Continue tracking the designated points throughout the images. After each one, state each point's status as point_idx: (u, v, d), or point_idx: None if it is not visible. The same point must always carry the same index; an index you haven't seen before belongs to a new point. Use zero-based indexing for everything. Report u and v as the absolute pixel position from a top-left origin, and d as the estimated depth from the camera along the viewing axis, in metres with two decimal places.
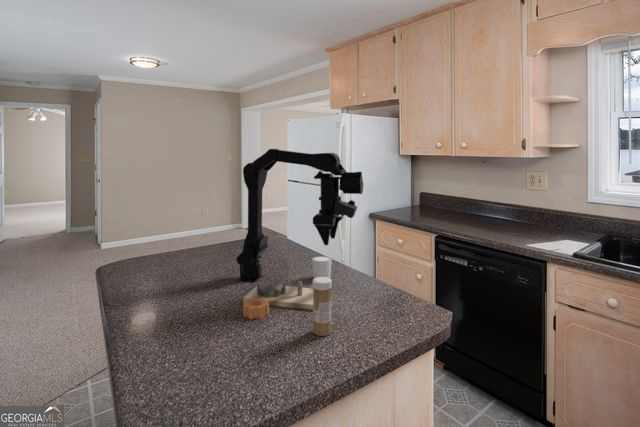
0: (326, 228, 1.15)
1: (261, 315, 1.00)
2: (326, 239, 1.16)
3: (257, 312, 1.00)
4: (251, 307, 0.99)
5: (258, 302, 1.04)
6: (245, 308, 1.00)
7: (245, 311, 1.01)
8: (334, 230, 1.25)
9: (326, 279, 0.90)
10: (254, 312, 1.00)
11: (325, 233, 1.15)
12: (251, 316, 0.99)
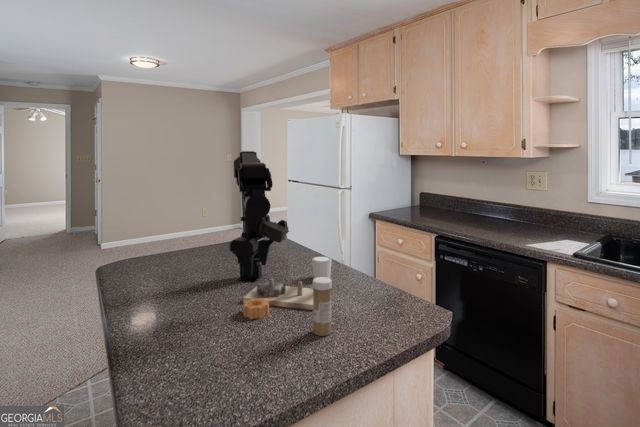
0: (248, 255, 0.94)
1: (261, 315, 1.00)
2: (249, 268, 0.96)
3: (257, 312, 1.00)
4: (251, 307, 0.99)
5: (258, 302, 1.04)
6: (245, 308, 1.00)
7: (245, 311, 1.01)
8: (265, 255, 1.05)
9: (326, 279, 0.90)
10: (254, 312, 1.00)
11: (247, 261, 0.95)
12: (251, 316, 0.99)
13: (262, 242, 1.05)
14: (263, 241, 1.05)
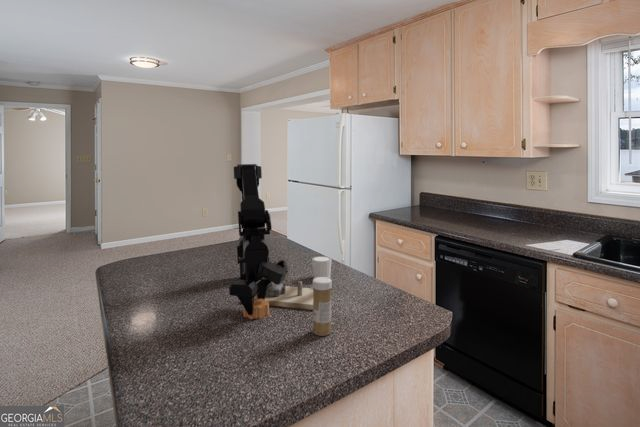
0: (249, 296, 0.97)
1: (261, 315, 1.00)
2: (249, 308, 0.98)
3: (257, 312, 1.00)
4: None
5: (258, 302, 1.04)
6: None
7: (245, 311, 1.01)
8: (263, 294, 1.05)
9: (326, 279, 0.90)
10: (254, 312, 1.00)
11: (248, 302, 0.97)
12: (251, 316, 0.99)
13: (261, 281, 1.06)
14: (261, 281, 1.05)
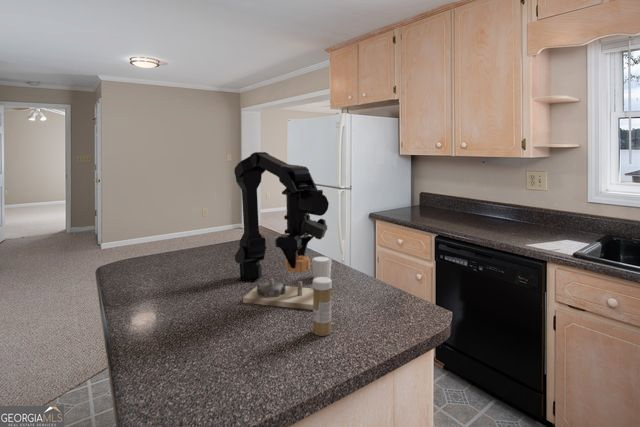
0: (292, 250, 1.04)
1: (303, 269, 1.07)
2: (293, 262, 1.05)
3: (299, 266, 1.07)
4: None
5: (299, 258, 1.11)
6: (288, 262, 1.08)
7: (288, 265, 1.08)
8: (303, 252, 1.13)
9: (326, 279, 0.90)
10: (296, 266, 1.07)
11: (291, 255, 1.05)
12: (294, 269, 1.07)
13: (301, 239, 1.13)
14: (301, 239, 1.13)
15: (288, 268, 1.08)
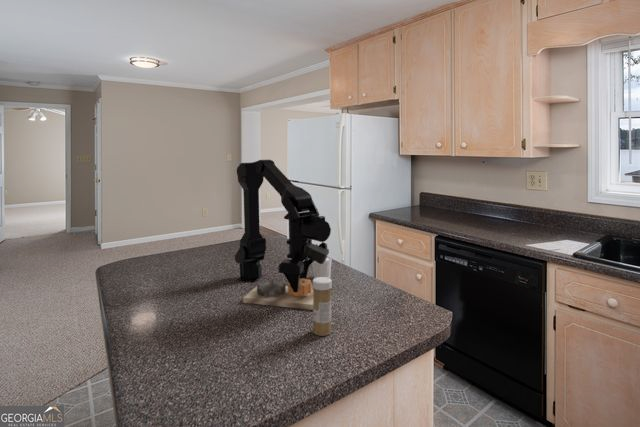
0: (295, 274, 1.06)
1: (305, 292, 1.09)
2: (295, 286, 1.07)
3: (302, 290, 1.09)
4: None
5: None
6: (290, 286, 1.09)
7: (290, 289, 1.09)
8: (304, 274, 1.14)
9: (326, 279, 0.90)
10: (299, 290, 1.08)
11: (294, 280, 1.06)
12: (296, 293, 1.08)
13: (302, 262, 1.14)
14: (303, 262, 1.14)
15: (290, 292, 1.10)
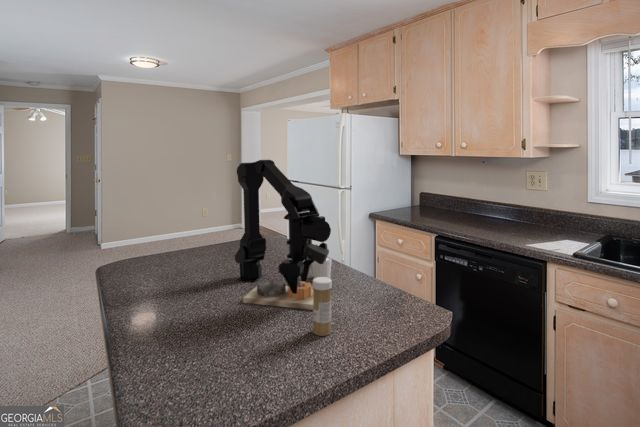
0: (294, 276, 1.05)
1: (305, 296, 1.09)
2: (294, 287, 1.06)
3: (302, 293, 1.09)
4: None
5: None
6: (290, 289, 1.09)
7: (290, 292, 1.10)
8: (305, 274, 1.15)
9: (326, 279, 0.90)
10: (299, 293, 1.09)
11: (293, 281, 1.05)
12: (296, 297, 1.08)
13: (303, 261, 1.15)
14: (304, 261, 1.15)
15: (290, 295, 1.10)
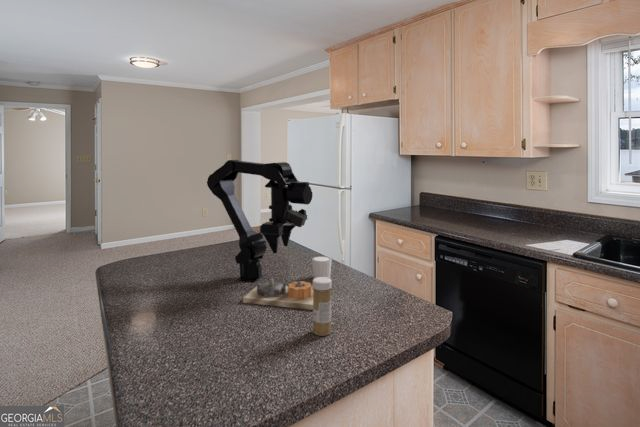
0: (274, 237, 1.17)
1: (305, 296, 1.09)
2: (274, 247, 1.18)
3: (302, 293, 1.09)
4: (296, 288, 1.08)
5: None
6: (290, 289, 1.09)
7: (290, 292, 1.10)
8: (287, 238, 1.27)
9: (326, 279, 0.90)
10: (299, 293, 1.09)
11: (273, 241, 1.17)
12: (296, 297, 1.08)
13: (285, 226, 1.27)
14: (286, 226, 1.27)
15: (290, 295, 1.10)
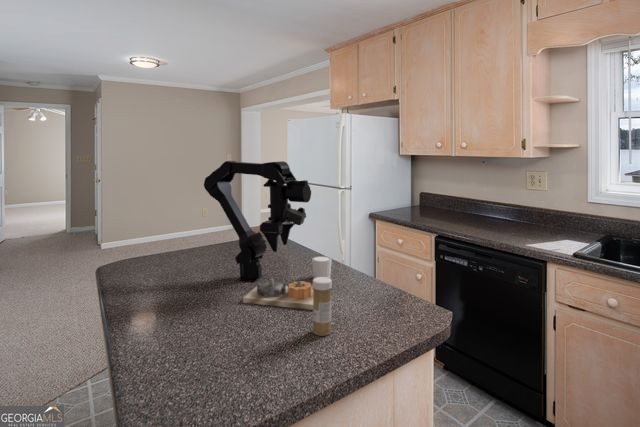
0: (274, 235, 1.18)
1: (305, 296, 1.09)
2: (274, 246, 1.19)
3: (302, 293, 1.09)
4: (296, 288, 1.08)
5: None
6: (290, 289, 1.09)
7: (290, 292, 1.10)
8: (286, 237, 1.28)
9: (326, 279, 0.90)
10: (299, 293, 1.09)
11: (273, 240, 1.18)
12: (296, 297, 1.08)
13: (284, 225, 1.28)
14: (285, 225, 1.28)
15: (290, 295, 1.10)
